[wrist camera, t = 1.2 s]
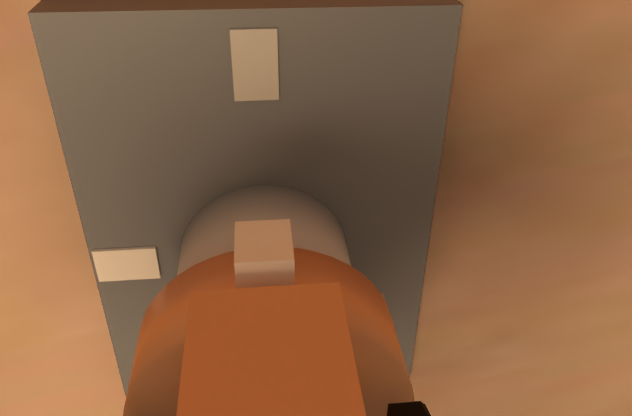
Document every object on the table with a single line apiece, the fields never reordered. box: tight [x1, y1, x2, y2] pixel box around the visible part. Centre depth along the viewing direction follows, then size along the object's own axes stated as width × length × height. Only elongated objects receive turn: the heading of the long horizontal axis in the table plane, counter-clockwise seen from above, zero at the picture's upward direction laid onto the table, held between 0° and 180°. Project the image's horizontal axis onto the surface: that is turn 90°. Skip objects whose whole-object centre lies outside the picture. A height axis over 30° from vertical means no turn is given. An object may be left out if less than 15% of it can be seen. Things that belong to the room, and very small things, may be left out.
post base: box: [28, 0, 463, 396], centre depth 15 cm, size 13×9×4 cm
